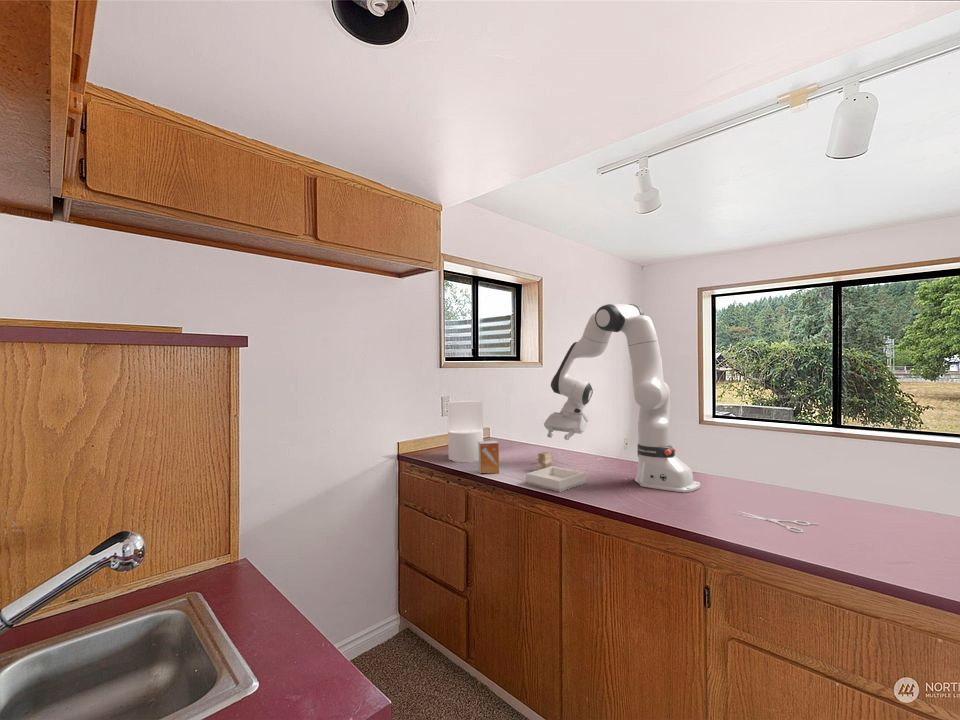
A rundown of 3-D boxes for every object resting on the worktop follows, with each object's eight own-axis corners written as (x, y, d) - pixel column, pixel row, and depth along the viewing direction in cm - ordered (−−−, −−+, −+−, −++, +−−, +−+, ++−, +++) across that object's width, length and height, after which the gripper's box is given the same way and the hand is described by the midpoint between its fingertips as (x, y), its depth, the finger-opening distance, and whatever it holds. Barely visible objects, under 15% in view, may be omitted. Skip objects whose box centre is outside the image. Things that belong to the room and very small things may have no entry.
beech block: (551, 470, 189) (551, 453, 189) (545, 472, 186) (545, 454, 186) (544, 469, 192) (544, 451, 192) (538, 470, 189) (538, 453, 189)
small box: (480, 474, 185) (479, 443, 185) (478, 471, 191) (477, 441, 191) (499, 473, 186) (498, 442, 186) (497, 469, 192) (496, 440, 192)
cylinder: (448, 455, 224) (446, 400, 224) (481, 454, 226) (480, 399, 226) (449, 463, 207) (447, 403, 207) (485, 461, 209) (484, 402, 209)
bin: (585, 483, 168) (585, 472, 168) (559, 492, 157) (559, 481, 157) (552, 476, 179) (552, 466, 179) (526, 484, 169) (525, 473, 169)
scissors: (808, 534, 114) (725, 514, 129) (808, 537, 114) (725, 517, 129) (819, 523, 121) (739, 506, 136) (819, 526, 121) (739, 509, 136)
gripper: (549, 407, 208) (536, 431, 201) (585, 410, 193) (572, 436, 186) (555, 416, 211) (542, 439, 204) (592, 419, 196) (579, 445, 189)
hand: (557, 437), depth 195 cm, fingers open, 8 cm apart
